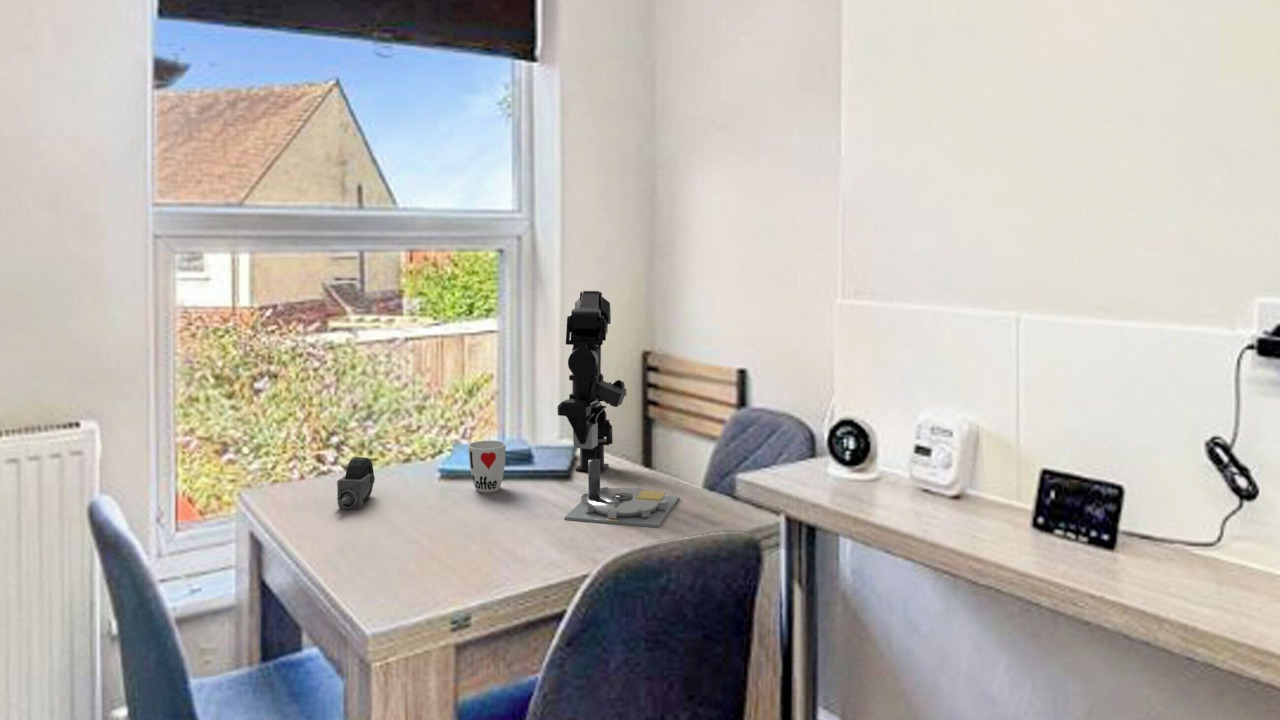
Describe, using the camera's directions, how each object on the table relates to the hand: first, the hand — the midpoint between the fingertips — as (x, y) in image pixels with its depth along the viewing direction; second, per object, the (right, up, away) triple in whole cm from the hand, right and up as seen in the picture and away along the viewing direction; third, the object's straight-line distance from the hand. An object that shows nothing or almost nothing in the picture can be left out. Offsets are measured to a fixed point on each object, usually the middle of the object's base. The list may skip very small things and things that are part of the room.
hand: (586, 441), depth 194 cm
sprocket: (+8, -13, -10) cm, 18 cm away
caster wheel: (-47, -13, -7) cm, 49 cm away
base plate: (+8, -13, -10) cm, 18 cm away
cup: (-22, -11, +4) cm, 25 cm away
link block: (0, -1, 0) cm, 1 cm away
